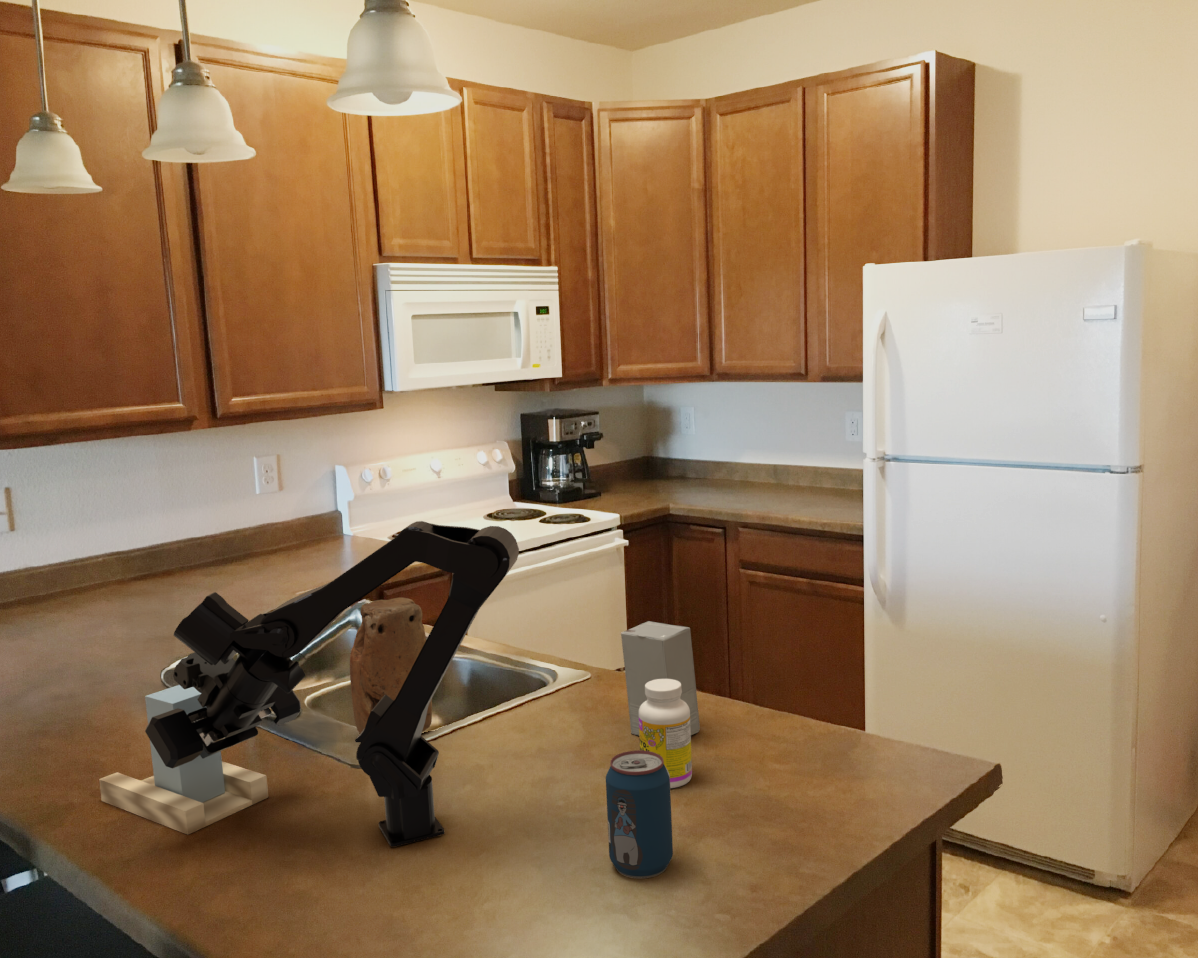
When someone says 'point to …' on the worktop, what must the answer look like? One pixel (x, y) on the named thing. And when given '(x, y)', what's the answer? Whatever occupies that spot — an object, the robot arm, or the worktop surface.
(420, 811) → the robot arm
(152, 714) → the grey rectangular block
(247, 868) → the worktop surface
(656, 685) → the supplement bottle
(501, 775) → the worktop surface
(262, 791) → the chute
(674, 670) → the skincare box
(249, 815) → the worktop surface
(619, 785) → the soda can
